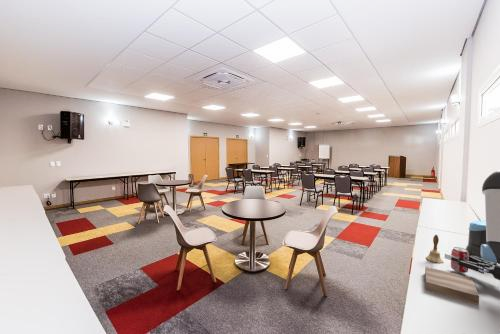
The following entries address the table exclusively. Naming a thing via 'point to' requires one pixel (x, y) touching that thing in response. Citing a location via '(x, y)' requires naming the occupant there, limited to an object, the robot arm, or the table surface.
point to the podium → (451, 285)
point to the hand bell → (435, 252)
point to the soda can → (463, 255)
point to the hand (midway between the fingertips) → (448, 254)
